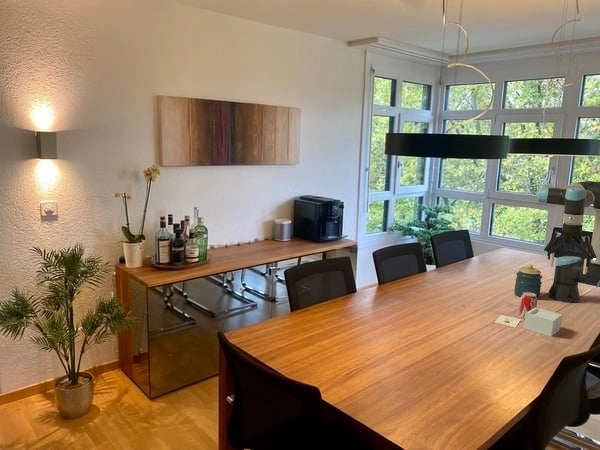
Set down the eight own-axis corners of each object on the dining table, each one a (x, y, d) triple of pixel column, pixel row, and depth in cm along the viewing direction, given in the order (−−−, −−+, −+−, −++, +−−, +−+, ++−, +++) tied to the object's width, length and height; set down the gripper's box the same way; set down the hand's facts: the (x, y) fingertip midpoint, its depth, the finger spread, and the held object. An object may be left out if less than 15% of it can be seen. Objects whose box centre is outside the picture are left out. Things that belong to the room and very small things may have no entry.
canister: (515, 297, 250) (518, 266, 247) (512, 290, 263) (516, 260, 259) (541, 300, 246) (545, 269, 243) (537, 293, 258) (541, 263, 255)
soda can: (525, 321, 217) (528, 296, 215) (515, 315, 224) (518, 291, 222) (538, 319, 219) (541, 295, 217) (527, 314, 226) (530, 291, 223)
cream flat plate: (500, 315, 223) (501, 314, 223) (520, 319, 218) (521, 319, 218) (494, 322, 214) (494, 321, 214) (515, 327, 209) (515, 326, 209)
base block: (533, 321, 216) (535, 307, 215) (560, 329, 208) (562, 314, 207) (523, 328, 208) (525, 313, 207) (551, 336, 200) (553, 320, 199)
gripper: (539, 220, 207) (534, 266, 211) (603, 228, 189) (597, 278, 193) (545, 218, 212) (541, 263, 216) (608, 226, 194) (602, 274, 198)
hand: (567, 270), depth 205 cm, fingers open, 13 cm apart
